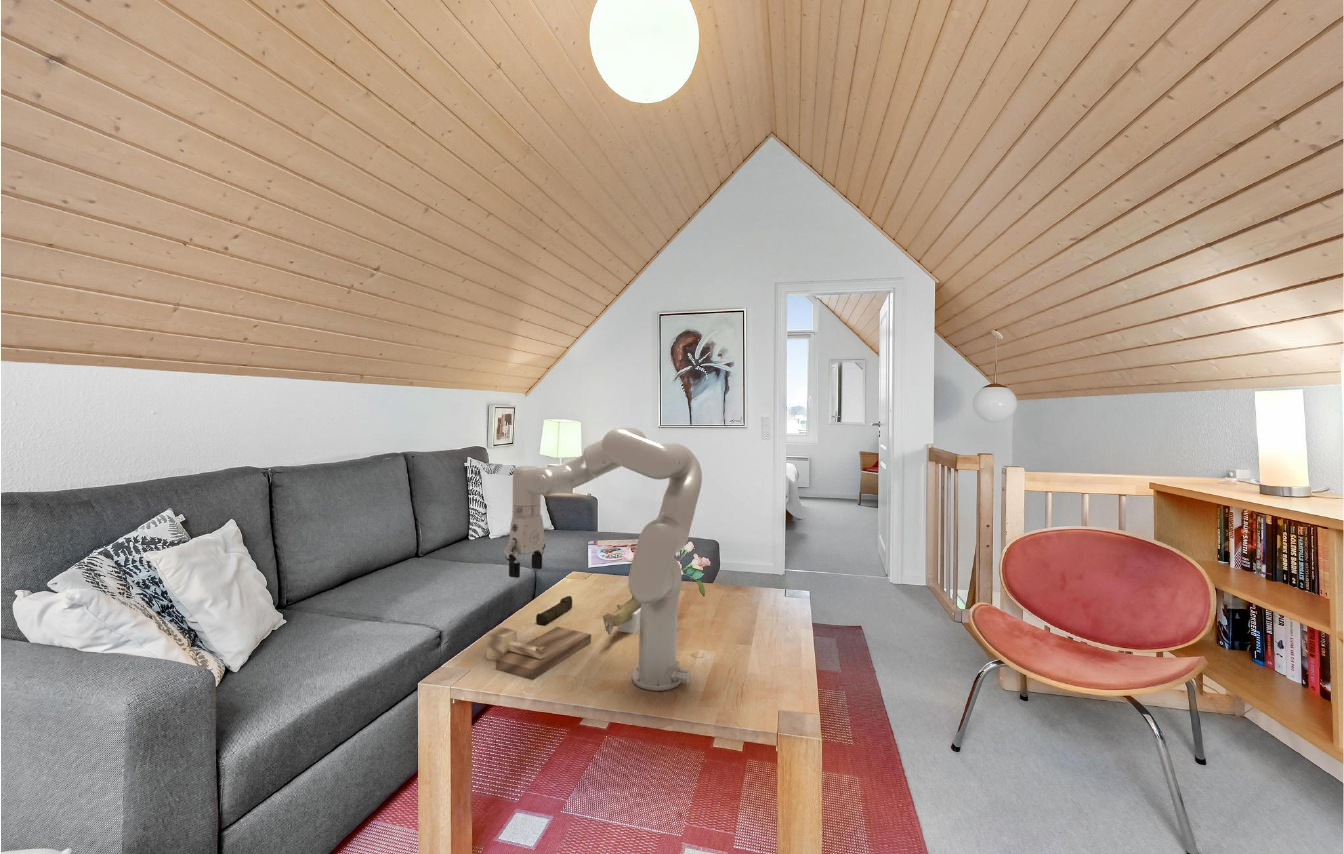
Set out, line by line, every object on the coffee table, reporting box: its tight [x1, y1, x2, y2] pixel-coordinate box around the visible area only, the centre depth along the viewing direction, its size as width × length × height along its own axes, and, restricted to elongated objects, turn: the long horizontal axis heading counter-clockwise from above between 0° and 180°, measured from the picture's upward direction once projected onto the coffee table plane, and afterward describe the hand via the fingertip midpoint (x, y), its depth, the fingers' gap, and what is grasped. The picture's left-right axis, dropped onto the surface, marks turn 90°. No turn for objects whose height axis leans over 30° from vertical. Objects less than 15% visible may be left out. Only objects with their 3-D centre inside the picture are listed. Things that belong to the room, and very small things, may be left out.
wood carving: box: [602, 595, 641, 635], centre depth 170 cm, size 9×35×11 cm, turn 161°
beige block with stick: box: [485, 626, 546, 662], centre depth 146 cm, size 17×5×7 cm, turn 65°
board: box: [495, 626, 592, 680], centre depth 151 cm, size 12×26×3 cm, turn 155°
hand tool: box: [535, 595, 573, 626], centre depth 181 cm, size 19×4×5 cm, turn 157°
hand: (525, 572), depth 152 cm, fingers open, 9 cm apart
